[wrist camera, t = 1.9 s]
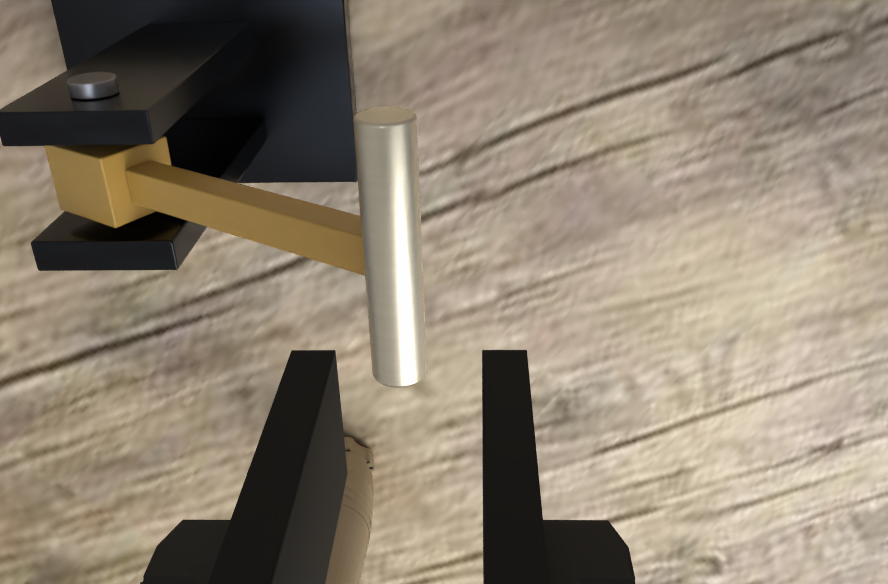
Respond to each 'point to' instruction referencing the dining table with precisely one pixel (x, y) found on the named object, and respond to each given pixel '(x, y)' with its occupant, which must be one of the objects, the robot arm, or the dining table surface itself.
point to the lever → (287, 220)
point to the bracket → (191, 107)
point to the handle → (353, 517)
